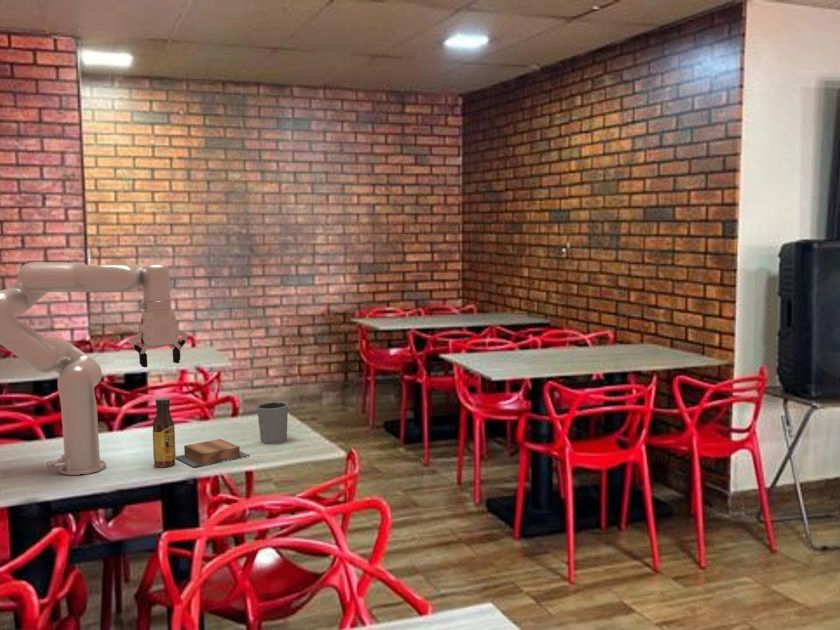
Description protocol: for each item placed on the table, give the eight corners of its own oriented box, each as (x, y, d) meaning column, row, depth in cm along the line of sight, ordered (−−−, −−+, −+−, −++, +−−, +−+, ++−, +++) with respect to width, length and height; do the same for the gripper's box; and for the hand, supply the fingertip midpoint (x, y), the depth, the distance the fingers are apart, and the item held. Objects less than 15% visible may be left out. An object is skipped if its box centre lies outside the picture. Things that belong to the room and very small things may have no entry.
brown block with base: (193, 468, 240) (193, 456, 239) (174, 458, 250) (174, 447, 250) (249, 456, 251) (249, 445, 250) (228, 447, 262) (228, 436, 261)
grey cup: (291, 436, 275) (289, 401, 273) (287, 444, 265) (285, 407, 263) (260, 437, 274) (259, 402, 273) (255, 445, 264) (254, 408, 263)
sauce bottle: (169, 468, 240) (166, 401, 238) (149, 467, 241) (146, 401, 239) (180, 462, 246) (177, 397, 244) (161, 461, 247) (157, 396, 245)
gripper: (132, 309, 230) (136, 370, 232) (191, 305, 241) (193, 362, 243) (123, 308, 236) (126, 367, 238) (180, 303, 247) (183, 360, 249)
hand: (160, 364), depth 240 cm, fingers open, 9 cm apart
